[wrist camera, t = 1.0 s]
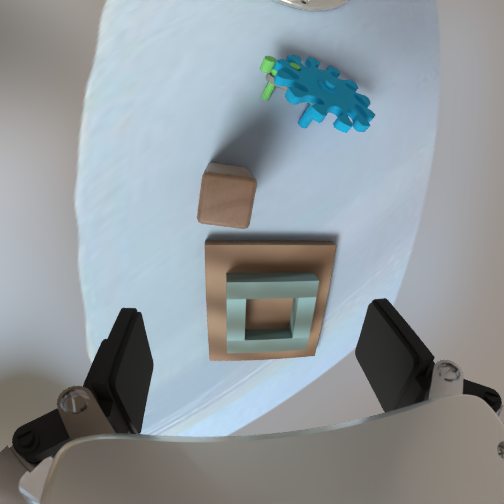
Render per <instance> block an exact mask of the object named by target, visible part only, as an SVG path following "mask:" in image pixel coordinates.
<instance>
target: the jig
mask: <svg viewBox="0 0 504 504" xmlns="http://www.w3.org/2000/svg"><path fill="white" fill-rule="evenodd" d="M335 251H336V245H335V244H334V243H333V242H331V241H205V276H206V303H207V323H208V341H209V357H210V361H240V360H265V359H282V358H295V357H307V356H315V352H316V348H317V343H318V339H319V335H320V330H321V326H322V321H323V316H324V311H325V306H326V301H327V296H328V291H329V286H330V280H331V275H332V269H333V263H334V257H335Z"/></svg>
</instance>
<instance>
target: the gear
mask: <svg viewBox="0 0 504 504" xmlns="http://www.w3.org/2000/svg"><path fill="white" fill-rule="evenodd" d="M301 61H302V60H301V58H300V57H298V56H295V55H288V57H287V59H286V60H284V59H280V60H278V61H276V59H275V58H273V57H271V56H265V58H264V60H263V62H262V64H261V67H260V70H261V71H263V72H265V73H267V75H266V80H267V81H268V84H267V86H266V88H265V90H264V92H263V95H262V98H263V99H264V100H268V99H269V97H270V95H271V94H272V92H273V90H274V88H275V86H278V87H279V88H281V89H283V90H285V91H286V93H285V97H286V98H287V100H288V101H289V102H290V103H291V104H294V105H296V104H299V103H302V102H306V103H309V104H310V105H309V106H308V108H307V109H306V111H305V112H304V114H303V115H302V117H301V118H300V120H299V122H298V124H299V125H300V126H301V127H303V128H307V127H308V125H309V124H310V122H311V121H312V119H314V120H315V121H317V122H318V123H320V122H322V121H323V119H324V118H325V117H326V115H327V113H329V112H331V113H333V114H335V115H336V116H337V117H338V118H337V119H336V121H335V122H334V123H333V125H334V127H335V128H336V129H338V130H340V131H342V132H344V133H347V132H348V131H349V129H350V128H351V127H352V125H353V127H354V129H355V130H356V131H358V132H365V131H366V130H367V129H368V128H369V126H370V124H369V122H370V121H371V120H372V119H373V118H374V116H375V114H374V113H373V112H372V111H371V110H369V109H368V108H367V107H368V106H369V105H370V100H369V98H368V97H366V96H365V95H361V94H358V93H356V90H357V89H358V86H357V85H356V83H355V82H354V81H352V80H341V79H338V78H337V77H338V76H339V74H340V72H339V71H338V70H337V69H335V68H334V67H332V66H329V67H328V69H327V70H326V71H322V70H320V69H318V68H317V67H318V66H319V64H320V62H319V61H318V60H316V59H313V58H311V57H308V58H307V60H306V62H305V66H306V67H305V66H303V65H302V64H301ZM348 116H349V117H351V119H352V120H353V123H352V122H351V121H350V119H349V117H348Z"/></svg>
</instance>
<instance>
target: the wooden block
mask: <svg viewBox="0 0 504 504" xmlns="http://www.w3.org/2000/svg"><path fill="white" fill-rule="evenodd" d="M256 186H257V182H256V179H255V178H254V176H253V175H252V174H251V173H250V171H249V170H248V169H247V168H245V167H241V166H234V165H227V164H220V163H209V164H208V166H207V168H206V170H205V172H204V174H203V176H202V183H201V190H200V198H199V206H198V214H197V219H198V222H200V223H202V224H209V225H217V226H225V227H233V228H241V229H245V228H248V226H249V225H250V219H251V214H252V208H253V202H254V197H255V191H256Z"/></svg>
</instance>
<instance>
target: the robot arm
mask: <svg viewBox="0 0 504 504" xmlns="http://www.w3.org/2000/svg"><path fill="white" fill-rule="evenodd" d="M275 1H277V2H279V3H281V4H283V5H286V6H290V7H293V8H297V9H302V10H309V11H327V10H331V9H335V8H338V7H340V6H342V5H344V4H345V3H346V2H348V1H349V0H275ZM303 3H304V4H303ZM355 355H356V358H357V360H358V362H359V364H360V366H361V367H362V369H363V371H364V373H365V375H366V377H367V379H368V381H369V383H370V385H371V387H372V388H373V390H374V392H375V394H376V396H377V398H378V400H379V402H380V404H381V406H382V408H383V410H384V411H385V413H382V414H378V415H374V416H370V417H366V418H362V419H358V420H354V421H349V422H344V423H340V424H334V425H330V426H323V427H318V428H312V429H306V430H298V431H290V432H283V433H273V434H262V435H248V436H231V437H230V436H228V437H181V436H158V435H142V434H140V433H141V429H142V423H143V417H144V412H145V406H146V401H147V396H148V391H149V386H150V381H151V377H152V372H153V359H152V355H151V351H150V347H149V343H148V339H147V335H146V331H145V326H144V322H143V318H142V314H141V312H137V310H136V308H122V309H121V311H120V313H119V315H118V317H117V319H116V321H115V323H114V326H113V328H112V330H111V332H110V334H109V337H108V339H104V340H103V341H102V343H101V345H100V347H99V349H98V352H97V354H96V356H95V358H94V361H93V363H92V365H91V368H90V370H89V373H88V375H87V378H86V380H85V382H84V385H83V387H82V386H72V387H68V388H67V389H65V390H63V392H62V393H60V395H59V397H58V399H57V409H55V410H53V411H51V412H49V413H48V414H45V415H43V416H41V417H39V418H37V419H35V420H33V421H31V422H29V423H27V424H25V425H23V426H21V427H19V428H18V429H17V430H16V432H15V433H14V435H13V441H12V443H13V445H12V446H11V447H10V448H9V447H8V446H6V447H5V448H4V449H3V450H2V451H1V452H0V504H504V403H503V405H502V402H501V398H500V395H499V394H498V393H497V392H496V391H495V390H494V389H491V388H489V387H486V386H483V385H480V384H477V383H474V382H471V381H468V380H465V379H463V372H462V370H461V368H460V367H459V366H458V365H457V364H456V363H454V362H452V361H449V360H440V361H438V362H437V363H436V364H435V363H434V362H433V360H434V356H433V355H432V353H431V352H430V351H429V350H428V348H427V347H426V346H425V345H424V343H423V342H422V341H421V340H420V338H419V337H418V336H417V335H416V333H415V332H414V331H413V330H412V329H411V327H410V326H409V325H408V323H407V322H406V321H405V320H404V319H403V317H402V316H401V315H400V314H399V313H398V311H397V310H396V309H395V308H394V307H393V306H392V304H391V303H390V302H389V301H388V300H387V299H385V298H384V299H375V300H373V301H372V303H370V304H369V306H368V309H367V313H366V316H365V320H364V323H363V327H362V330H361V334H360V337H359V340H358V344H357V347H356V350H355Z"/></svg>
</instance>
